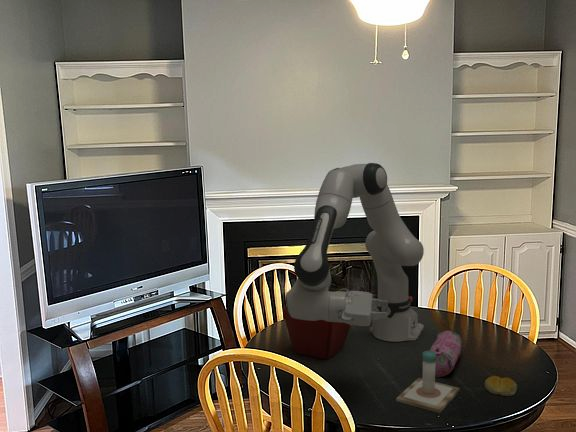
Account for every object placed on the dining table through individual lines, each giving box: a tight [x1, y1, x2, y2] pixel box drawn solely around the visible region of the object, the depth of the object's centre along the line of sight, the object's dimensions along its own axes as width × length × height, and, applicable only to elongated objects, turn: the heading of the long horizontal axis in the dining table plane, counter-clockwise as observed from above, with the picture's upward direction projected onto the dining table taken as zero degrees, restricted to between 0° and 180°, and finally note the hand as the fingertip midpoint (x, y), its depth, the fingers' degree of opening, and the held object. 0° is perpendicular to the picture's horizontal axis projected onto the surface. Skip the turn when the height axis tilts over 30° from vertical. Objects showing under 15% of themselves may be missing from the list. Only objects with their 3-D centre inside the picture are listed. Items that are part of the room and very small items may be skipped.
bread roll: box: [484, 375, 518, 397], centre depth 181 cm, size 8×9×4 cm
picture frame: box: [395, 377, 461, 414], centre depth 178 cm, size 16×13×1 cm
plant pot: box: [282, 305, 351, 360], centre depth 212 cm, size 19×19×17 cm
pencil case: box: [429, 330, 463, 378], centre depth 199 cm, size 21×9×9 cm, turn 154°
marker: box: [421, 350, 436, 395], centre depth 177 cm, size 4×4×12 cm
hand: (387, 309), depth 176 cm, fingers open, 8 cm apart
